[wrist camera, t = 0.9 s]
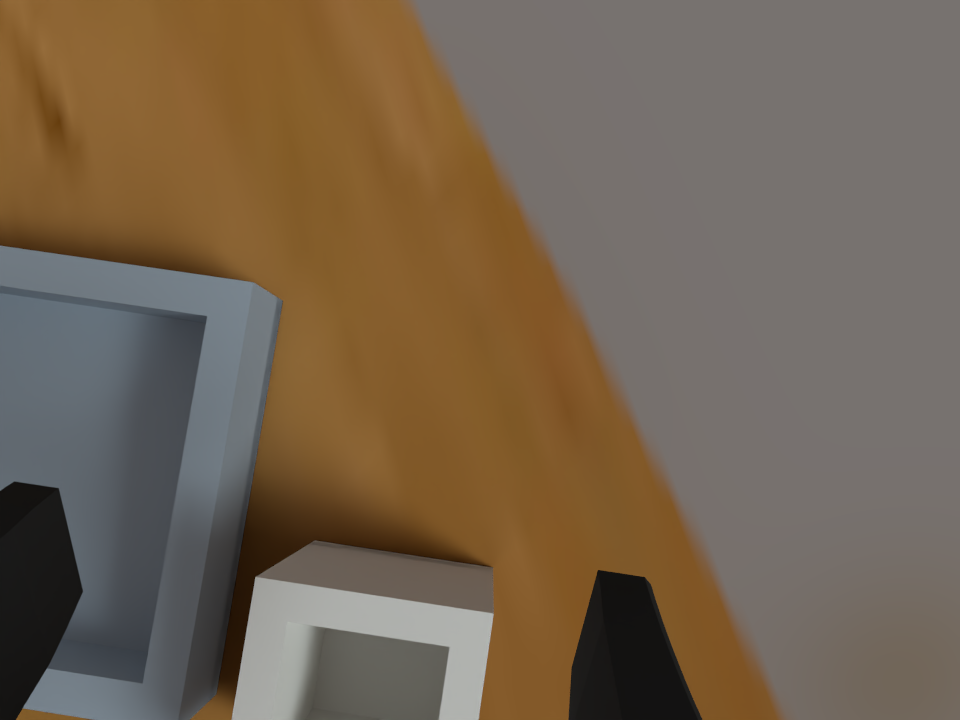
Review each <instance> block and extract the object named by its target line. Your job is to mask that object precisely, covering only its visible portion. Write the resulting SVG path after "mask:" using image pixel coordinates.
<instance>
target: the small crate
mask: <svg viewBox="0 0 960 720" xmlns="http://www.w3.org/2000/svg"><path fill="white" fill-rule="evenodd" d="M493 614H494V607H493V567H486V566H480V565H473V564H467V563H460V562H453V561H447V560H440V559H434V558H427V557H421V556H414V555H408V554H401V553H394V552H388V551H381V550H375V549H368V548H362V547H355V546H349V545H342V544H335V543H329V542H322V541H316V540H315V541H313V542H311V543H310V544H308V545H307V546H305V547H303V548H302V549H300V550H298V551H297V552H295V553H294V554H292V555H290V556H289V557H287V558H285V559H284V560H282V561H281V562H279V563H277V564H276V565H274V566H272V567H271V568H269V569H268V570H266V571H264V572H263V573H261V574H259V575H258V576H256V577H255V583H254V589H253V595H252V601H251V607H250V613H249V619H248V625H247V631H246V637H245V643H244V649H243V655H242V661H241V667H240V673H239V679H238V685H237V691H236V697H235V703H234V709H233V715H232V720H478V719H479V712H480V705H481V698H482V691H483V684H484V677H485V670H486V663H487V656H488V649H489V642H490V635H491V628H492V621H493Z"/></svg>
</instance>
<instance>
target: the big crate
mask: <svg viewBox="0 0 960 720" xmlns="http://www.w3.org/2000/svg"><path fill="white" fill-rule="evenodd" d="M282 302H283V301H282V300H281V299H279V298H277V297H276V296H274V295H273V294H271V293H269V292H268V291H266V290H265V289H263V288H262V287H260V286H258V285H257V284H255V283H254V282H247V281H240V280H234V279H227V278H220V277H213V276H206V275H199V274H192V273H185V272H178V271H172V270H165V269H158V268H151V267H144V266H137V265H130V264H123V263H116V262H109V261H103V260H96V259H89V258H82V257H75V256H68V255H61V254H54V253H47V252H41V251H34V250H27V249H20V248H13V247H6V246H0V490H2V489H3V488H5V487H6V486H8V485H10V484H11V483H13V482H14V481H15V482H22V483H28V484H35V485H42V486H48V487H55V488H59V491H60V495H61V499H62V504H63V508H64V512H65V516H66V520H67V525H68V529H69V533H70V537H71V542H72V546H73V550H74V554H75V559H76V563H77V567H78V571H79V576H80V580H81V584H82V588H83V593H82V595H81V598H80V600H79V602H78V604H77V607H76V609H75V611H74V613H73V616H72V618H71V620H70V622H69V625H68V627H67V629H66V631H65V633H64V635H63V637H62V640H61V642H60V644H59V646H58V648H57V650H56V652H55V654H54V656H53V658H52V660H51V662H50V664H49V666H48V667H47V669H46V671H45V672H44V674H43V676H42V677H41V679H40V681H39V682H38V684H37V686H36V687H35V689H34V691H33V692H32V694H31V695H30V697H29V699H28V700H27V702H26V704H25V705H24V707H23V708H25V709H31V710H37V711H44V712H50V713H56V714H62V715H69V716H75V717H81V718H88V719H94V720H190V719H191V718H192V717H193V716H194V715H195V714H196V713H197V712H198V711H199V710H200V709H201V708H202V707H203V706H204V705H206V704H207V703H208V702H209V701H210V700H211V699H212V698H213V697H214V696H215V695H216V694H217V688H218V682H219V676H220V670H221V664H222V658H223V652H224V646H225V640H226V634H227V628H228V622H229V616H230V610H231V605H232V599H233V593H234V587H235V581H236V575H237V569H238V563H239V557H240V551H241V545H242V539H243V533H244V527H245V521H246V516H247V510H248V504H249V498H250V492H251V486H252V480H253V474H254V468H255V462H256V456H257V450H258V444H259V438H260V433H261V427H262V421H263V415H264V409H265V403H266V397H267V391H268V385H269V379H270V373H271V367H272V361H273V355H274V349H275V344H276V338H277V332H278V326H279V320H280V314H281V308H282Z"/></svg>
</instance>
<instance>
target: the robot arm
mask: <svg viewBox="0 0 960 720" xmlns="http://www.w3.org/2000/svg"><path fill="white" fill-rule="evenodd" d="M82 593H83V588H82V584H81V580H80V576H79V571H78V567H77V563H76V559H75V554H74V550H73V546H72V542H71V537H70V533H69V529H68V525H67V520H66V516H65V512H64V508H63V504H62V499H61V495H60V491H59V488H55V487H48V486H42V485H35V484H28V483H22V482H15V481H14V482H13V483H11V484H10V485H8V486H6V487H5V488H3V489H2V490H0V720H16V718H17V717H18V715H19V713H20V712H21V710H22V708H23V707H24V705H25V704H26V702H27V700H28V699H29V697H30V695H31V694H32V692H33V691H34V689H35V687H36V686H37V684H38V682H39V681H40V679H41V677H42V676H43V674H44V672H45V671H46V669H47V667H48V666H49V664H50V662H51V660H52V658H53V656H54V654H55V652H56V650H57V648H58V646H59V644H60V642H61V640H62V637H63V635H64V633H65V631H66V629H67V627H68V625H69V622H70V620H71V618H72V616H73V613H74V611H75V609H76V607H77V604H78V602H79V600H80V598H81V595H82ZM569 720H702V718H701V716H700V713H699V711H698V709H697V707H696V705H695V702H694V700H693V698H692V695H691V693H690V691H689V688H688V686H687V684H686V681H685V679H684V676H683V674H682V671H681V669H680V666H679V664H678V661H677V659H676V656H675V653H674V651H673V648H672V646H671V643H670V640H669V638H668V635H667V632H666V629H665V627H664V624H663V621H662V618H661V615H660V612H659V609H658V606H657V603H656V600H655V597H654V594H653V590H652V587H651V584H650V583H649V582H648V581H647V579H646V578H645V577H640V576H633V575H627V574H620V573H614V572H607V571H601V570H598V572H597V576H596V580H595V583H594V587H593V591H592V595H591V598H590V602H589V606H588V609H587V613H586V617H585V620H584V624H583V628H582V631H581V635H580V639H579V643H578V646H577V650H576V654H575V657H574V661H573V665H572V673H571V689H570V705H569Z"/></svg>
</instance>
